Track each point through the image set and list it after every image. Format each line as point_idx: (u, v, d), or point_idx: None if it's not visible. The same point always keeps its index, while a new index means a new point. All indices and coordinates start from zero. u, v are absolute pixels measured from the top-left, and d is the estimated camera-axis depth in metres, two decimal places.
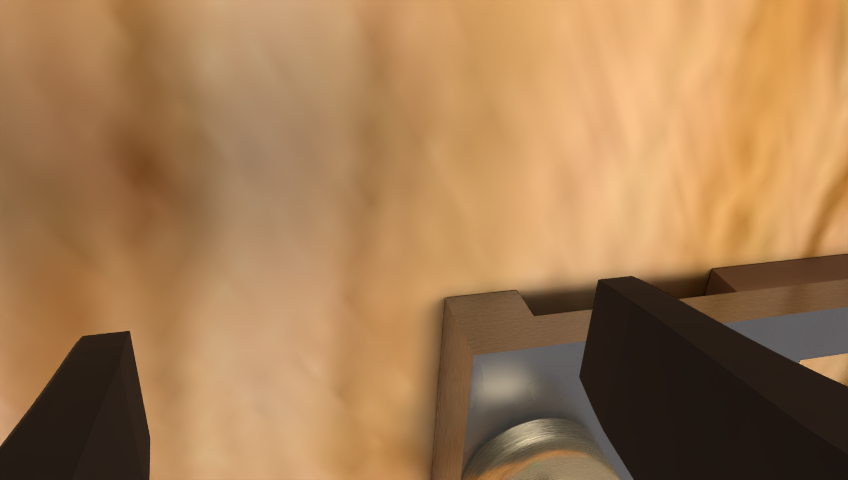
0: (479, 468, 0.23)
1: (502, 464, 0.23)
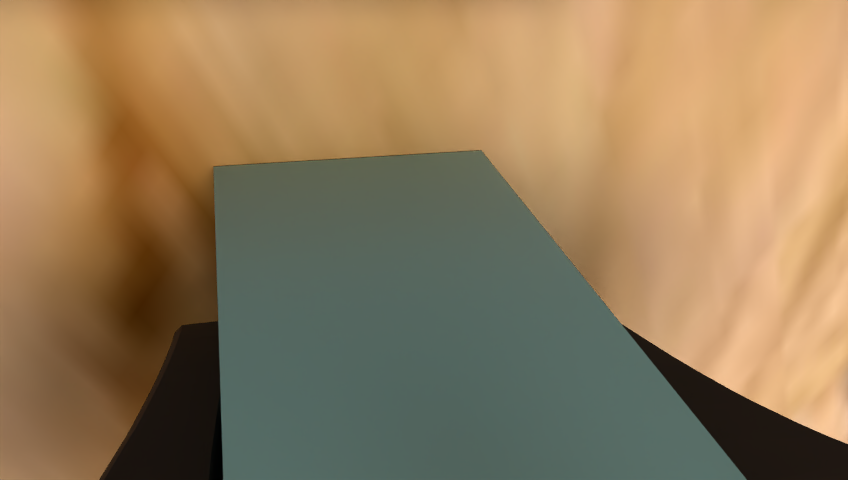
0: None
1: None
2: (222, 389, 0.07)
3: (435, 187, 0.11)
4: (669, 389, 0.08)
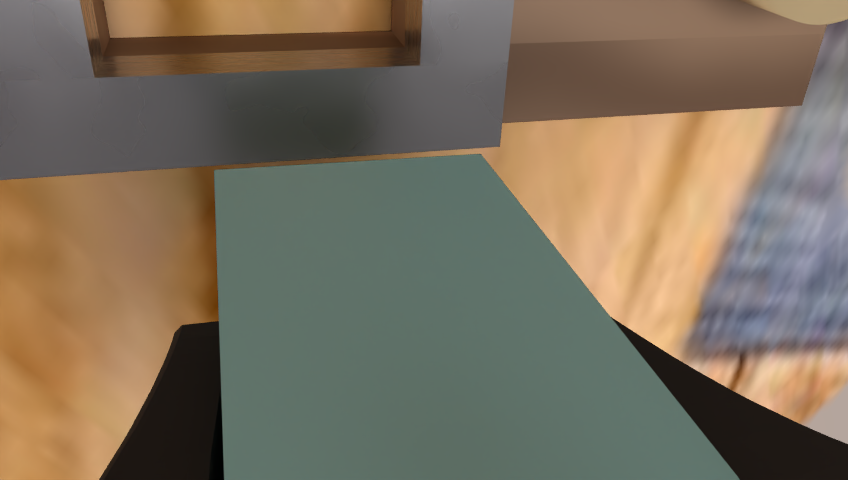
0: None
1: None
2: (223, 393, 0.07)
3: (435, 191, 0.11)
4: (665, 394, 0.08)
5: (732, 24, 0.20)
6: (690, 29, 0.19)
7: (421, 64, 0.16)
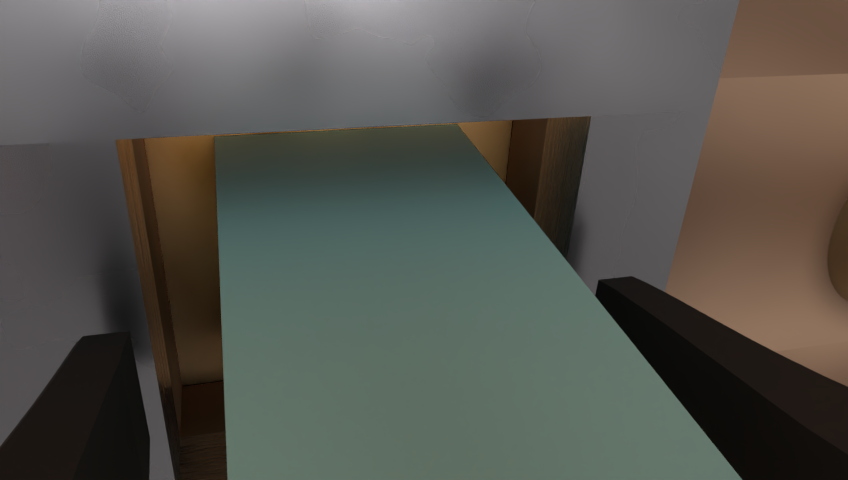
0: None
1: None
2: (222, 308, 0.09)
3: (413, 154, 0.13)
4: (602, 311, 0.09)
5: None
6: (814, 338, 0.18)
7: None
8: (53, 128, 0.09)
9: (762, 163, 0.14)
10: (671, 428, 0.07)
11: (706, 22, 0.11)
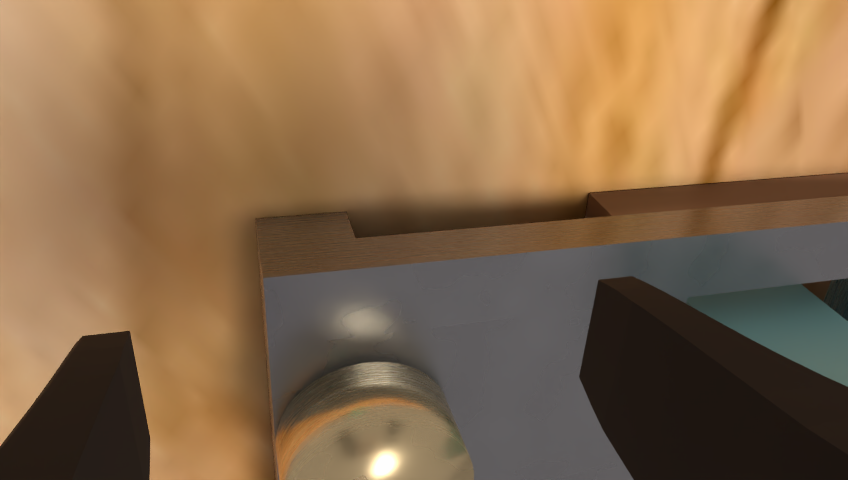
0: (289, 420, 0.19)
1: (311, 414, 0.19)
2: None
3: None
4: None
5: None
6: None
7: None
8: None
9: None
10: None
11: None
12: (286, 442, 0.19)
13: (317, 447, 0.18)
